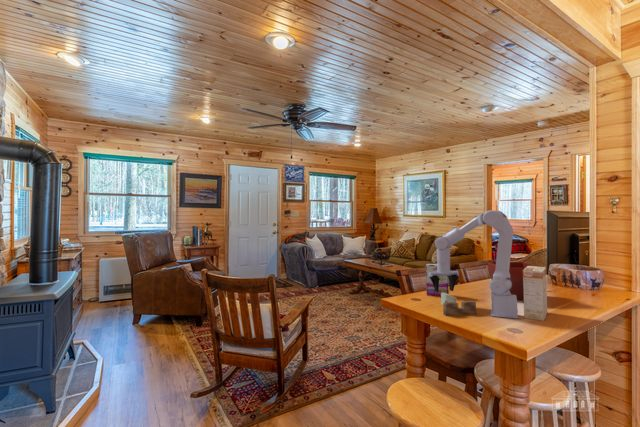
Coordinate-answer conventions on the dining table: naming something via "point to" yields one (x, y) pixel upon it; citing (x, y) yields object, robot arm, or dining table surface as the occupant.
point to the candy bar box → (442, 282)
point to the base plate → (453, 309)
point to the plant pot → (513, 277)
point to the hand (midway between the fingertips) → (444, 291)
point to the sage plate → (447, 298)
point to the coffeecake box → (535, 292)
